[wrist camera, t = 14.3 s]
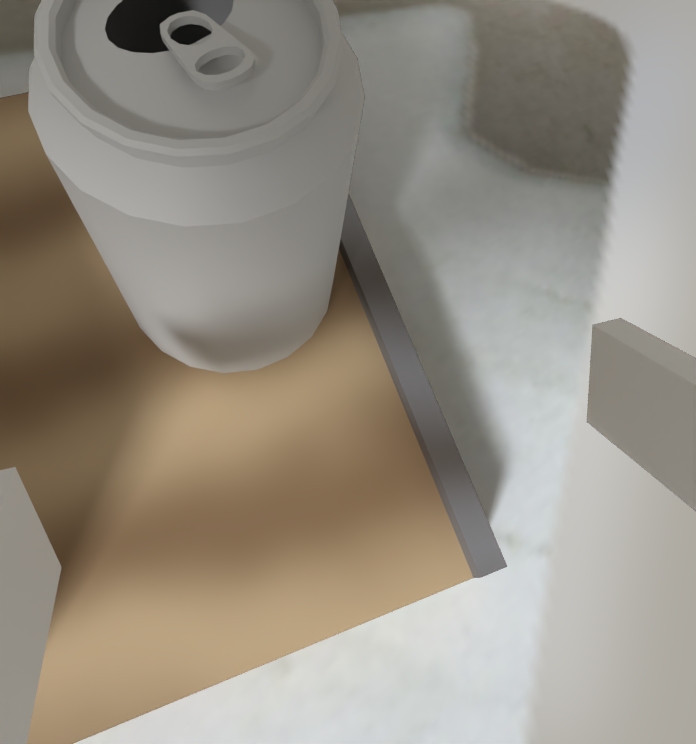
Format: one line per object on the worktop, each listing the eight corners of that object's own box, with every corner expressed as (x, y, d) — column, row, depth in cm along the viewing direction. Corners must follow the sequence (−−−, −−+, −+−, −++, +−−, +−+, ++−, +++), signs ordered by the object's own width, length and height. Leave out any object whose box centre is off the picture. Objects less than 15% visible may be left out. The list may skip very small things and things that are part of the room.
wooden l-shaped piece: (-168, 189, 27) (-606, -196, 13) (277, 91, 31) (275, -280, 18) (-74, 793, 20) (-739, 1188, 7) (473, 568, 24) (702, 551, 11)
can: (262, 174, 26) (249, -151, 14) (368, 315, 24) (447, 74, 13) (95, 260, 24) (-75, -39, 12) (199, 420, 22) (113, 244, 11)
